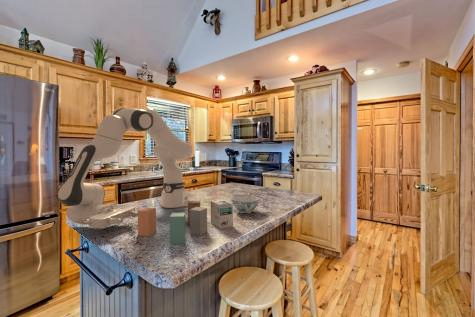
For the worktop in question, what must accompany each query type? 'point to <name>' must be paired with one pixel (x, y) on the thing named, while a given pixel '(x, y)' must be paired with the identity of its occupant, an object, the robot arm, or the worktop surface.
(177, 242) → the muted teal block
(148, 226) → the terracotta block
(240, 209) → the chinaware
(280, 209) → the worktop surface
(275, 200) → the worktop surface
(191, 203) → the walnut block
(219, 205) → the light bulb box
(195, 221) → the slate-grey block
